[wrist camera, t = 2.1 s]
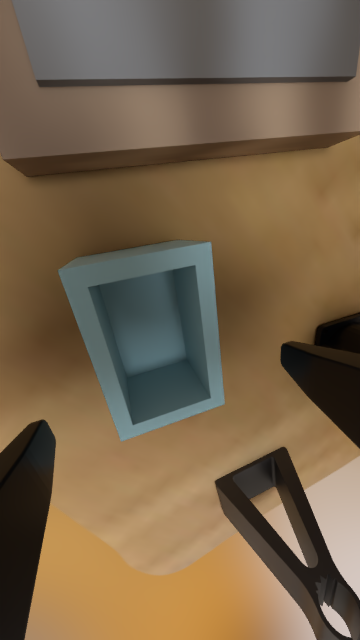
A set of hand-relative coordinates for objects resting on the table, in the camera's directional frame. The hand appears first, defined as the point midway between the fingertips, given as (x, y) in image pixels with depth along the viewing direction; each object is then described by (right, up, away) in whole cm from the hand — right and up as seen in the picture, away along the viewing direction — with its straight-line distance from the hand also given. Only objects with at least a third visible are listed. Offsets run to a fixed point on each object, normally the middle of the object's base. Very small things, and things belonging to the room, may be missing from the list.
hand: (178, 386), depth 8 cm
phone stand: (+9, -16, +18) cm, 25 cm away
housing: (-2, +3, +7) cm, 8 cm away
